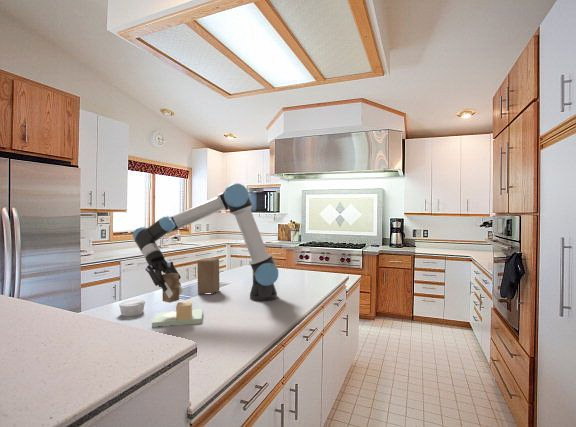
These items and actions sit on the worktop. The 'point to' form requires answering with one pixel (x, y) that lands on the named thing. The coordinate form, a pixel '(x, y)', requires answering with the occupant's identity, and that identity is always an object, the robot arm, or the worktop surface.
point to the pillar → (171, 286)
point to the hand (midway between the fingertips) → (176, 294)
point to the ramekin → (132, 307)
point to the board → (170, 318)
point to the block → (208, 275)
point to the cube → (184, 310)
